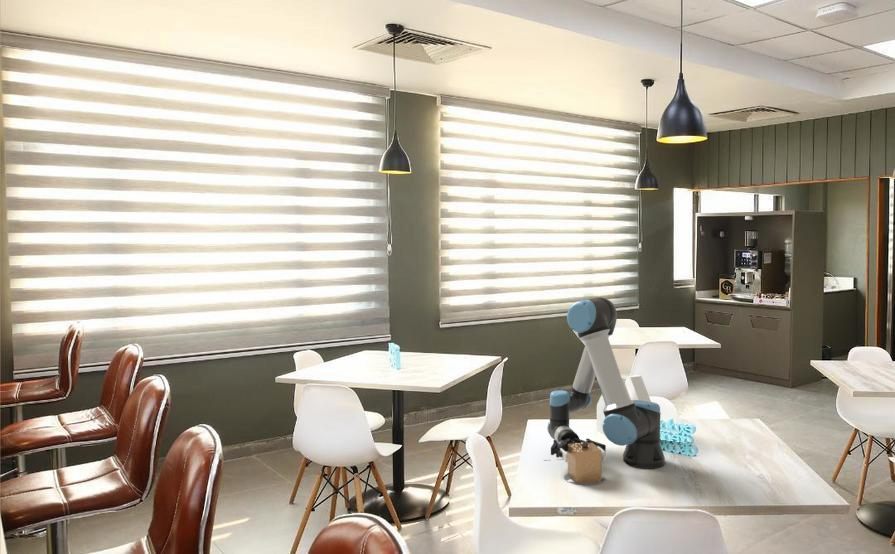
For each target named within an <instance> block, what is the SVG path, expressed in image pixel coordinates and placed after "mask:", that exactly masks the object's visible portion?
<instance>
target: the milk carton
mask: <svg viewBox="0 0 895 554" xmlns="http://www.w3.org/2000/svg"><path fill="white" fill-rule="evenodd" d="M621 378H622V381H623V384H624V386H625V389H626V392H627V395H628V398H629V399H630V400H641V401H649V402H652V401H651V399H650V396H649V394H648V393H649V392H648V390H647V388H646V386H645V382H644V379H643V376H642V375H639V374H637V375H628V376H626V378H625V380H624V378H623V377H621ZM604 408H605V402H604V399H603V396H602V394H601V395H600V397H599V400H598V401H597V404H596V432H597V433H600V434H602V435H605V434H604V432H603V422H604V419H605V415H604V412H603V410H604Z"/></svg>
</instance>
